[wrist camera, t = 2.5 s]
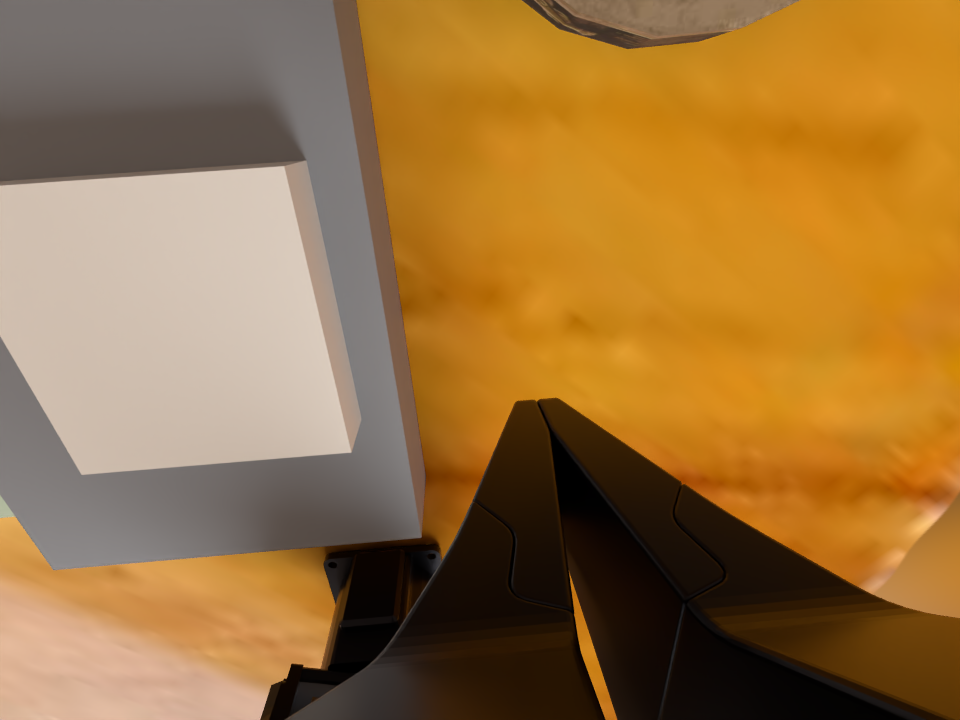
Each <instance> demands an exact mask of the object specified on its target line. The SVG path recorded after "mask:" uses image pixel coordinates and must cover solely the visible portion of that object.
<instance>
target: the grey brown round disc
mask: <svg viewBox="0 0 960 720" xmlns="http://www.w3.org/2000/svg"><path fill="white" fill-rule="evenodd" d="M522 1H524V2H525V3H526V4H527V5H529V6H530V7H531V8H533V9H534V10H535V11H536V12H538V13H539V14H540V15H542V16H543V17H544V18H545V19H547V20H548V21H549V22H551V23H552V24H553V25H555V26H556V27H557V28H558V29H561V30H564V31H567V32H571V33H574V34H578V35H581V36H585V37H588V38H591V39H595V40H598V41H602V42H605V43H609V44H612V45H616V46H619V47H622V48H626V49H633V48H642V47H652V46H661V45H671V44H680V43H690V42H699V41H702V40H705V39H708V38H712V37H715V36H718V35H721V34H724V33H727V32H730V31H733V30H736V29H739V28H742V27H745V26H747V25H749V24H751V23H753V22H755V21H757V20H759V19H761V18H763V17H766V16H768V15H770V14H772V13H774V12H776V11H778V10H780V9H782V8H784V7H787V6H789V5H791V4H793V3H795V2H797V1H799V0H522Z"/></svg>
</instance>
